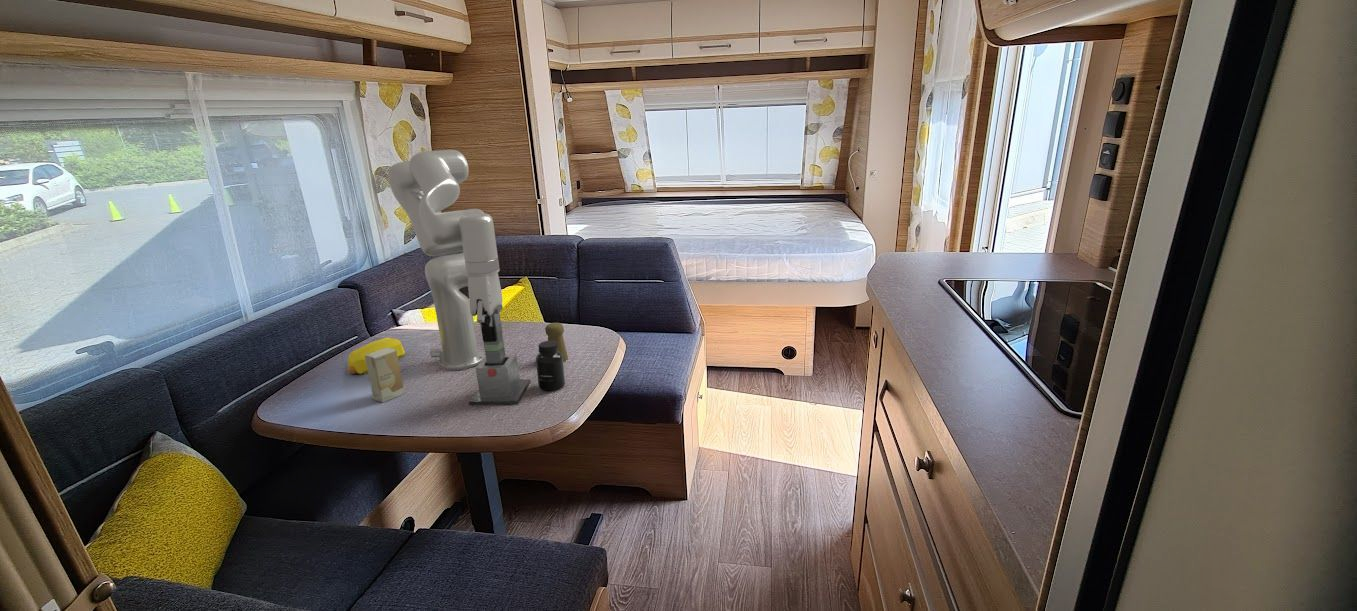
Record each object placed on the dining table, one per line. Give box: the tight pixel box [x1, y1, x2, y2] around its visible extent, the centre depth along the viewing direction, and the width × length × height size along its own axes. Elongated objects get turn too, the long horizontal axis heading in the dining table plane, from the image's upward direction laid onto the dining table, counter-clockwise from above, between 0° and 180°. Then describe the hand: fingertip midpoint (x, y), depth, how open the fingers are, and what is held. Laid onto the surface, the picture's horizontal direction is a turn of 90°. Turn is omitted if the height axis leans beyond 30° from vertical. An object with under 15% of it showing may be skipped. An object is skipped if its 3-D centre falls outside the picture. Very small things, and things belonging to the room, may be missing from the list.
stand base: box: [468, 354, 531, 406], centre depth 145 cm, size 12×12×9 cm
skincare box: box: [365, 348, 405, 403], centre depth 145 cm, size 6×4×12 cm
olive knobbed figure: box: [544, 322, 569, 363], centre depth 164 cm, size 6×6×11 cm
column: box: [482, 303, 506, 366], centre depth 141 cm, size 6×4×17 cm, turn 89°
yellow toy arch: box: [347, 336, 406, 375], centre depth 166 cm, size 18×7×8 cm
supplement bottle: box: [535, 340, 566, 393], centre depth 147 cm, size 7×7×12 cm
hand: (492, 337), depth 141 cm, fingers closed on column, 3 cm apart
